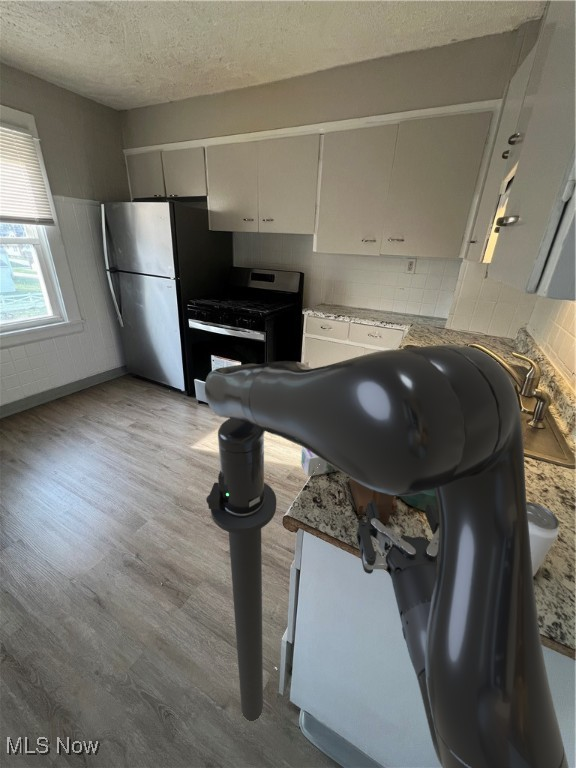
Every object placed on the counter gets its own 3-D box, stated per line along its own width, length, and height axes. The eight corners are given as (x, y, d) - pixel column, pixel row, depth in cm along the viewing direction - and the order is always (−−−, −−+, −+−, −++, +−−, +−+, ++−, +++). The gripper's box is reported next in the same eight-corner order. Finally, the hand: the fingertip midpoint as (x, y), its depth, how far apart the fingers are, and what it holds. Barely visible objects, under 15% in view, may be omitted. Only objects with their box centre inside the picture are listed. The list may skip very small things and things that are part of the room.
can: (513, 543, 60) (536, 497, 55) (544, 576, 55) (573, 527, 49) (484, 549, 59) (505, 502, 54) (513, 583, 53) (540, 534, 48)
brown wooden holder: (399, 523, 64) (410, 482, 59) (361, 524, 63) (368, 482, 59) (382, 483, 74) (390, 445, 69) (348, 483, 74) (354, 445, 69)
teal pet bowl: (398, 511, 67) (403, 493, 65) (384, 467, 79) (388, 451, 77) (467, 516, 66) (473, 499, 64) (442, 471, 79) (446, 455, 77)
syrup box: (353, 435, 81) (300, 443, 78) (364, 449, 76) (308, 458, 73) (351, 453, 84) (299, 461, 80) (361, 468, 79) (306, 477, 75)
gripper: (519, 610, 31) (453, 491, 46) (376, 597, 32) (356, 483, 47) (495, 650, 35) (441, 526, 49) (366, 637, 35) (350, 519, 50)
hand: (399, 506), depth 48 cm, fingers open, 8 cm apart
